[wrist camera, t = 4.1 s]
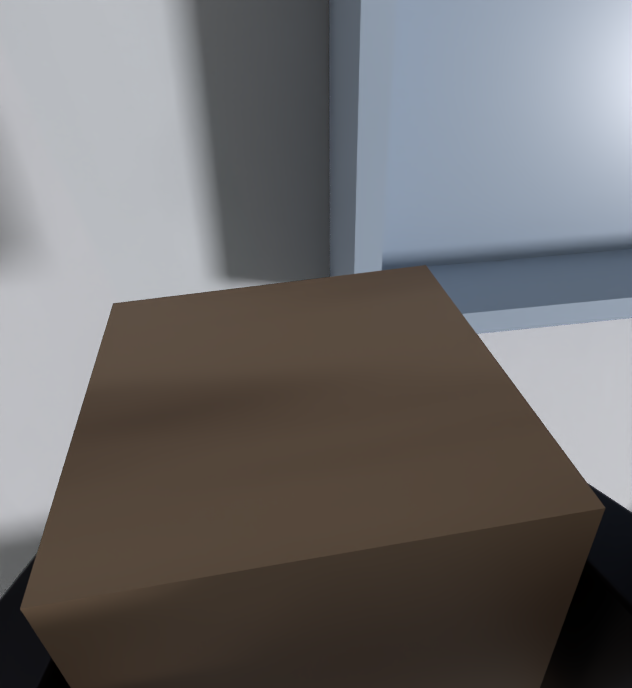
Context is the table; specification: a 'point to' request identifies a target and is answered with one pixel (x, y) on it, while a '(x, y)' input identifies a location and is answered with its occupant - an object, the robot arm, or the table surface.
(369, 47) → the tote
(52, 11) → the table surface
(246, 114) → the table surface
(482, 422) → the walnut cube
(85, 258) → the table surface
